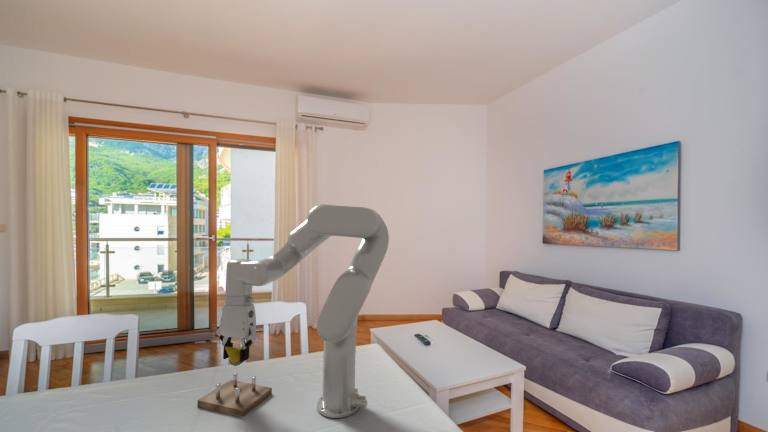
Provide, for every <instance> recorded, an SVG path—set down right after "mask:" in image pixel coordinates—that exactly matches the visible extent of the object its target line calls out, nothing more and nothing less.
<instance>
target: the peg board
mask: <svg viewBox="0 0 768 432" xmlns="http://www.w3.org/2000/svg"><path fill="white" fill-rule="evenodd" d="M232 375H233V379H230V380H228V381H225V383H223V384H221V383H220V382H218V383H216V384H215V389H214V390H212V391H209V393H207V394H206V395H203V396H202V397H201V398H199V399H198V400H197V404H196V405H197V407H199V408H203V409H206V410H211V411H216V412H220V413H224V414H228V415H233V416H237V417H241V418H244V417H245V416H246V415H247V414H248V413H249V412H251V411H252V410H253V409H254V408H256V407H257V406H258V405H260V404H261V403H262V402H263V401H265V400H266V399H267V398H268V397H269V396H270V395H272V394H273V393H272V392H273V391H272V387H270V386H264V385H259V384H256V382H257V377H256V375H254V376H251V383H249V382H244V381H239V380H238V372H235V373H233V374H232Z"/></svg>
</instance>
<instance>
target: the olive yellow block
mask: <svg viewBox="0 0 768 432" xmlns="http://www.w3.org/2000/svg"><path fill="white" fill-rule="evenodd" d="M225 349H226V351H227V354H228V356H229V357H228V358H229V363H230V365H232V366H234V367H237V366H240V365H241V364H242V363H243V362H240V350H241V349H242V346H240V347H234V346H233V347H225Z"/></svg>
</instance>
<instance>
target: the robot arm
mask: <svg viewBox="0 0 768 432" xmlns="http://www.w3.org/2000/svg"><path fill="white" fill-rule="evenodd" d="M331 236H333V237H345V238H346V237H347V238H355V239H358V238H359V239H360V242H359V244H358V247H357V248H356V251H354V252H355V253H354V254H353V255H354V256H353V258H352V259H351V262H350V263H349V265H348V266H347V269H346V270H345V271H344V272H343V273H341V274H340V276H339V277H337V279H336V281H335V282H334V284H333V286H332V288H331V290H330V292H329V293H328V296H327V298H326V300H325V302H324V304H323V306H322V307H321V310H320V312H319V314H318V317H317V320H316V331H317V334H318V335H319V337H320V338H321V339H322V340H323V355H322V356H323V363H322V364H323V365H322V366H323V367H322V368H323V369H322V396H321V397H320V398H319V399H318V400H317V402H316V409H317V411H318V413H320V415H322V416H324V417H327V418H331V419H341V418H346V417H349V416H352V415H353V414H355V413H356V412H357V411H358V410H359V408H366V409H367V407H368V400H367V396H366V395H361V394H359V388H356V354H357V351H356V350H357V348H356V347H357V346H356V345H357V329H358V318H359V317H358V316H359V314H360V312H361V309H362V308H363V306H364V303H365V302H366V299H367V298H368V296H369V294H370V292H371V289H372V285H373V283H374V280H375V278H376V276H377V275H378V272H379V270H380V268H381V265H382V263H383V262H384V258H385V257H386V253H387V251H388V249H389V241H390V240H389V239H390V237H389V230H388V227H387V225H386V223H385V221H384V219H383V218H382V217H381V215H380V214H379V213H378V212H377V211H375V210H374V209H372V208H369V207H363V206H347V205H336V204H325V203H322V204H317V205H316V206H314V207H312V208H311V209H310V210H309V212H308V214H307V219H306V220H304V221H303V222H302V223H301V224H299V225H298V226H297V227H296V228H294V229H293V230H292V231H291V232H290V233H289V234H288V236H287V237H288V238H287V241H286V243H285V244H284V245H283V246H282V247H281V248H280V249H279V250H277V252H275V253H274V254H272V255H271V256H270V257H268V258H264V259H260V260H256V261H252V260H251V259H248V258H235V259H230V260H228V261H227V264H226V273H225V295H224V296H225V297H224V303H223V306H222V309H221V310H222V311H221V314H220V315H221V316H220V323H219V327H218V328H217V330H216V331H215V333H216V334H217V336H218V337H219V339H220V341H221V345H222V346H223V356H222V359H224V360H226V359H228V358H229V356H228V354H227V351H226V349H225V347H233V348H234V342H232V341H233V339H238V340H239V341H240V345H241V347H242V349H241V350H240V362H242V363H244V362H245V361H247V360H249V358H250V347H251V346H252V345H253V344H254V343H255V341H257V340H258V339H259V338H260V337H259V335H258V333H257V331H256V330H257V317H256V315H257V314H256V307H255V304H254V303H253V302H254V301H255V298H254V297H253V287H263V286H266V285H268V284H271V283H272V282H275V281H277V280H279V279H280V278H282V277H284V275H286V274H287V273H288V272H289V271H291V270H292V269H294V268H295V267H296V266H297V265H298V264H299V263H300V262H302V261H303V260H304V259H305V258H306V257H307V256H308V255H310V254H311V253H312V252H313V251H314V250H316V249H317V247H319V246H320V245H322V244H323V243H324V242H325V241H326V240H328V239H330V238H331Z"/></svg>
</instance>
